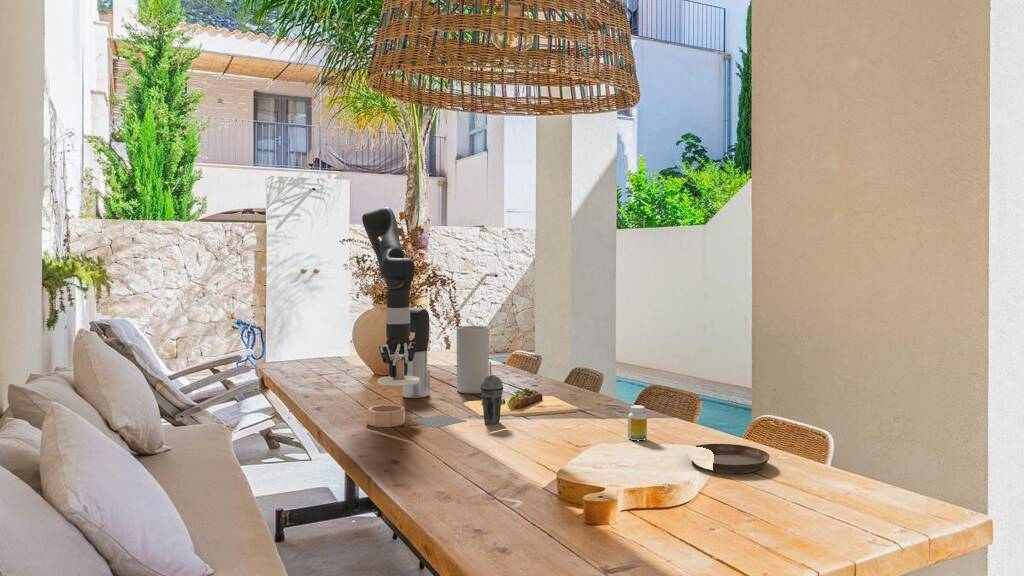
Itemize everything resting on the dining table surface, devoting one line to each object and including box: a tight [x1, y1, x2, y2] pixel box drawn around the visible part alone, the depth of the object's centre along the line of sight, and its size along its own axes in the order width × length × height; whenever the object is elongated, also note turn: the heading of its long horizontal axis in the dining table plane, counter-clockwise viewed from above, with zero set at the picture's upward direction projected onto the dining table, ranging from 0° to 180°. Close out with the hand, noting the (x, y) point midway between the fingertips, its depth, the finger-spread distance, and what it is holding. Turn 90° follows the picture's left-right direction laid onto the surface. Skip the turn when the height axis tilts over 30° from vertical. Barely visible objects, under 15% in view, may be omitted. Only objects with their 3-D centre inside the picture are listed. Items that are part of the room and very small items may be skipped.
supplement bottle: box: [627, 404, 648, 441], centre depth 213 cm, size 5×5×10 cm
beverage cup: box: [480, 361, 504, 426], centre depth 231 cm, size 7×7×20 cm
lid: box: [377, 358, 420, 387], centre depth 231 cm, size 13×13×7 cm
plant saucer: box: [695, 443, 771, 475], centre depth 188 cm, size 21×21×3 cm
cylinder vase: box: [456, 325, 490, 395], centre depth 287 cm, size 12×12×25 cm
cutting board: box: [462, 387, 579, 418], centre depth 255 cm, size 35×23×8 cm
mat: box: [410, 414, 467, 429], centre depth 234 cm, size 13×13×1 cm
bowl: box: [366, 404, 406, 428], centre depth 231 cm, size 11×11×5 cm
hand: (398, 376), depth 231 cm, fingers closed on lid, 3 cm apart
